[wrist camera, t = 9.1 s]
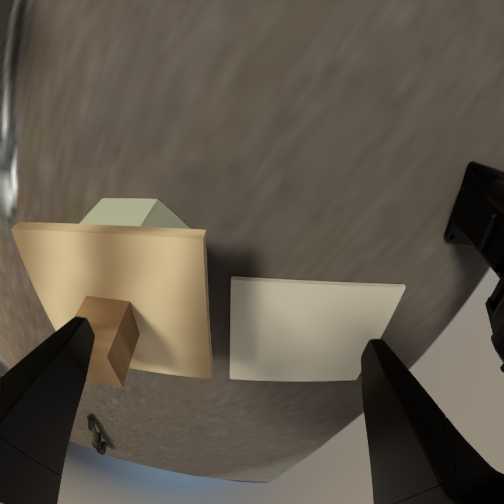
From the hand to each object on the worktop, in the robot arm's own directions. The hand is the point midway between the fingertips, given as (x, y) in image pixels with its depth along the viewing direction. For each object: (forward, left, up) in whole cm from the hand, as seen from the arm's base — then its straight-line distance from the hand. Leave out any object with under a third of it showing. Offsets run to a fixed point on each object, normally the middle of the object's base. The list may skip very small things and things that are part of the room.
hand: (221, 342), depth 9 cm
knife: (+28, +52, -12) cm, 61 cm away
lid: (+7, +6, -7) cm, 12 cm away
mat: (-7, +14, -12) cm, 19 cm away
